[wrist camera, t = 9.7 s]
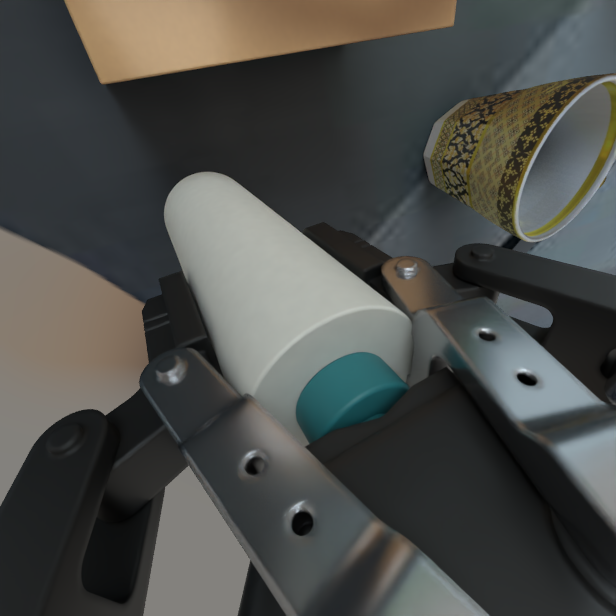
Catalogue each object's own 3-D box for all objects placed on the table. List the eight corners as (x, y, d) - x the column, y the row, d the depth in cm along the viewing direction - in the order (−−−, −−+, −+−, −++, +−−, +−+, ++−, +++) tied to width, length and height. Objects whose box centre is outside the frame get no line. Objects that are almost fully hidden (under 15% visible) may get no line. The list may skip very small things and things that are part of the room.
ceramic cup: (391, 197, 28) (491, 238, 20) (438, 57, 23) (590, 45, 16) (479, 212, 34) (579, 247, 27) (530, 105, 30) (668, 112, 22)
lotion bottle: (184, 268, 16) (304, 572, 6) (147, 185, 14) (252, 477, 4) (260, 242, 17) (465, 461, 7) (240, 161, 15) (517, 327, 5)
